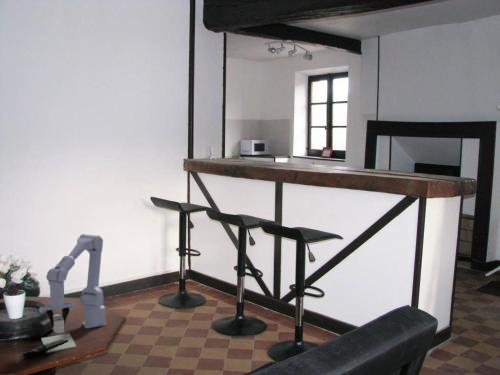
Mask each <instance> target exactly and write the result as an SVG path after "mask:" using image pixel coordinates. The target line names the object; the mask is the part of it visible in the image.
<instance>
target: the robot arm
mask: <svg viewBox="0 0 500 375" xmlns="http://www.w3.org/2000/svg"><path fill="white" fill-rule="evenodd" d="M103 243H104V239H103V238H102V236H100V235H96V234H95V235H93V234H85V233H83V234H80V235H79V237H78V238H77V240H76V244H75V245H74V248H73V249H72V250H71V251H70V253H69V254H68V255H65V256H63V257H62V259H61V260H60V261H59V262H58V263H57V264H56V265H55V266H54V267H52V268H50V269H49V270H48V271H47V274H46V280H47V281H48V285H49V296H50V298H49V299H50V304H47V305H45V306H40V307H39V313H40V314H43V313H46V315H47V317H49V319H50V322H51V327H54V323H53V315H54V312H53V311H59V310H61V312H62V313H61V315H62V317H63V319H64V326H65V325H66V320H67V318H68V315H69V313H70V309H71V308H72V309H74V308H76V303H75V302H74V301H73V302H65V281H66V280H67V277H68V274H69V271H71V269H72V268H73V267H74V265H75V264H76V261H75V260H76V259H78V257H79V256H81V254H82V253H83V252H84V251H86V252H88V254H89V260H88V271H87V282H86V286H85V287H84V288H83V289H82V291H81V292H82V293H81V296H80V298H79V299H80V304H81V306H82V307H83V308H84V309H83V310H84V313H83V314H84V321H83V322H82V325H83V327H84V328H85V329H90V328H91V329H92V328H97V327H102V326H103V327H104V326H106V324H107V323H106V307H105V305H104V300H105V299H104V291H103V290H102V289H101V288H100V286H99V284H100V273H101V262H102V261H101V260H102V252H103V247H104V246H103V245H104V244H103Z"/></svg>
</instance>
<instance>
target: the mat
mask: <svg viewBox="0 0 500 375" xmlns="http://www.w3.org/2000/svg"><path fill="white" fill-rule="evenodd" d="M59 340H68V342H66V343H64V344H62V345H59V346H57V347H55V348H52V349H50V350H48V351H47V352H46V353H52V352H58V351H64V350H69V349H75V348H77V345H76V343H75V341H74V339H73V337H72V336H71V334H70V333H65V334H64V333H63V334H62V333H61V334H57V335H52V336H48V337H47V336H46V337H41V342H42V344H43V346H44V345H47V344H50V343H52V342H55V341H59Z"/></svg>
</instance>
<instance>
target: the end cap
mask: <svg viewBox="0 0 500 375" xmlns="http://www.w3.org/2000/svg"><path fill="white" fill-rule="evenodd" d="M31 328H36V329H31V334H32V337H37V338H40V337H41V338H42V337H43V336H44V335H46V334H48V333H49V332H50V331H52V330H53V328H52V327H51V322H50V319H49V317H48V316H41V317H39V318H38V320H34V321H32V322H31ZM34 333H35V334H34Z"/></svg>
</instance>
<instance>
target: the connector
mask: <svg viewBox="0 0 500 375" xmlns="http://www.w3.org/2000/svg"><path fill="white" fill-rule="evenodd" d="M53 323H54V327H52V328H53V329H52V330H53V332H54V333H55V334H62V333H64V332H65V325H64V319H63V317H62V314H60V313H56V314H53Z"/></svg>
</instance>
